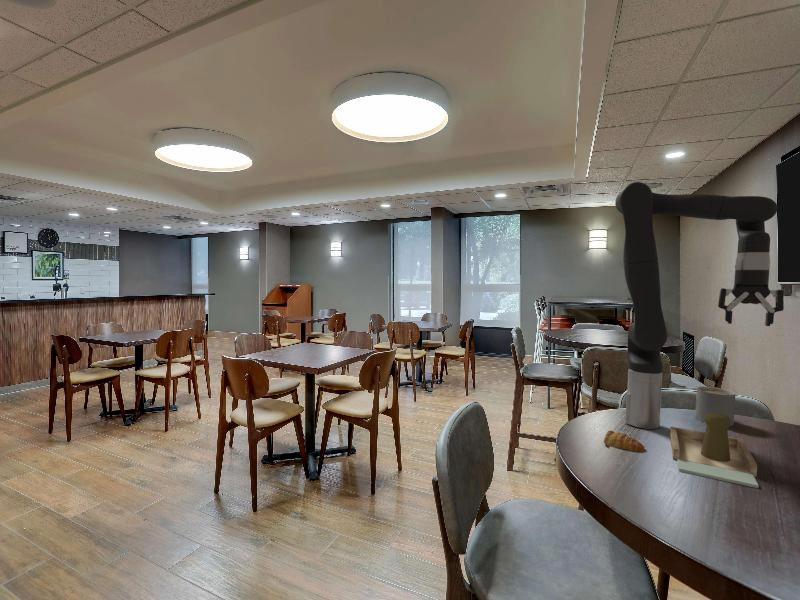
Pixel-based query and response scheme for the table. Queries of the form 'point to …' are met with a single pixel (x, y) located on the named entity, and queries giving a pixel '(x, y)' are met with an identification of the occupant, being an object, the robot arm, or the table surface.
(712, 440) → the cork
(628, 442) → the pastry
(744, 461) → the tray
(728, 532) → the table surface
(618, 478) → the table surface
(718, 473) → the panel
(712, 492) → the table surface
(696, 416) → the coffee mug
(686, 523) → the table surface
